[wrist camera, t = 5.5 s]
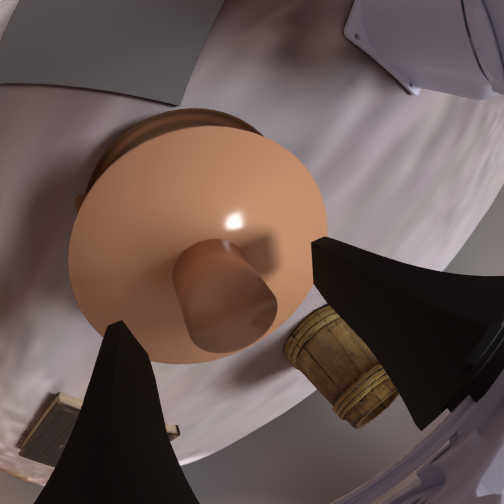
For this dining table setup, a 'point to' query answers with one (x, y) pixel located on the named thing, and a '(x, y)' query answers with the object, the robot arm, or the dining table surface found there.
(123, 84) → the coaster
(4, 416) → the dining table surface
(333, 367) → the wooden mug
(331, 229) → the dining table surface
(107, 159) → the cup and saucer
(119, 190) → the lid
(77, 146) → the dining table surface
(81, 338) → the dining table surface
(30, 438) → the hardcover book
